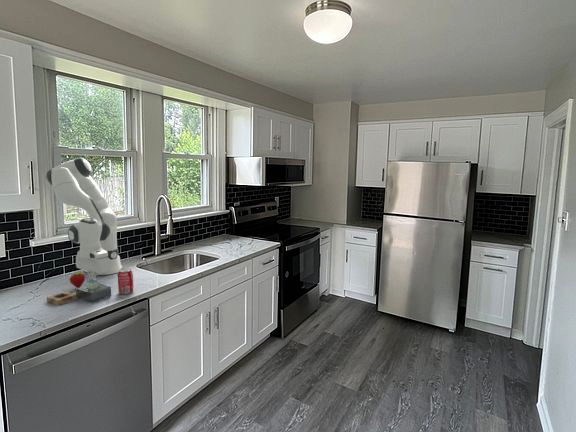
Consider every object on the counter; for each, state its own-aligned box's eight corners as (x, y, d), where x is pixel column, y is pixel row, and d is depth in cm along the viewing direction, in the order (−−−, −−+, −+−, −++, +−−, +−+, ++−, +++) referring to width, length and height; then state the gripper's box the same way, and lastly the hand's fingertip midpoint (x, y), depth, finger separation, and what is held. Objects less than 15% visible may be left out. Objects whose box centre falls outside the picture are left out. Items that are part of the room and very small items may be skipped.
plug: (88, 297, 164) (87, 280, 162) (94, 295, 166) (93, 278, 165) (92, 299, 162) (91, 281, 161) (98, 296, 165) (97, 279, 164)
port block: (76, 298, 162) (75, 288, 162) (95, 291, 171) (95, 282, 171) (91, 303, 157) (91, 292, 157) (111, 296, 166) (110, 286, 165)
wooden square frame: (47, 302, 157) (46, 297, 157) (65, 296, 165) (65, 291, 165) (57, 305, 154) (57, 300, 153) (76, 299, 161) (76, 294, 161)
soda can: (128, 289, 176) (127, 267, 175) (136, 291, 173) (135, 269, 171) (115, 293, 170) (114, 270, 169) (123, 296, 167) (122, 273, 165)
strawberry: (67, 289, 174) (66, 271, 172) (81, 284, 181) (79, 267, 179) (75, 291, 172) (74, 272, 170) (88, 286, 179) (87, 268, 177)
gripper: (71, 250, 163) (73, 277, 165) (98, 256, 154) (99, 284, 156) (83, 247, 168) (85, 274, 170) (110, 253, 159) (112, 280, 161)
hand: (92, 279), depth 163 cm, fingers closed
